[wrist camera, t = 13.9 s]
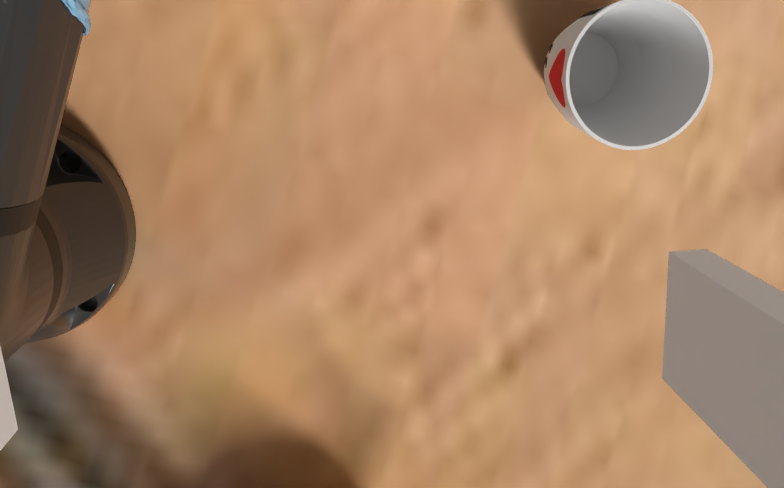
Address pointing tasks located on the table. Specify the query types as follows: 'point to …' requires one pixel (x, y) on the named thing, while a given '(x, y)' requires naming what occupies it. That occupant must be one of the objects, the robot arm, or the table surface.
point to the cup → (630, 72)
